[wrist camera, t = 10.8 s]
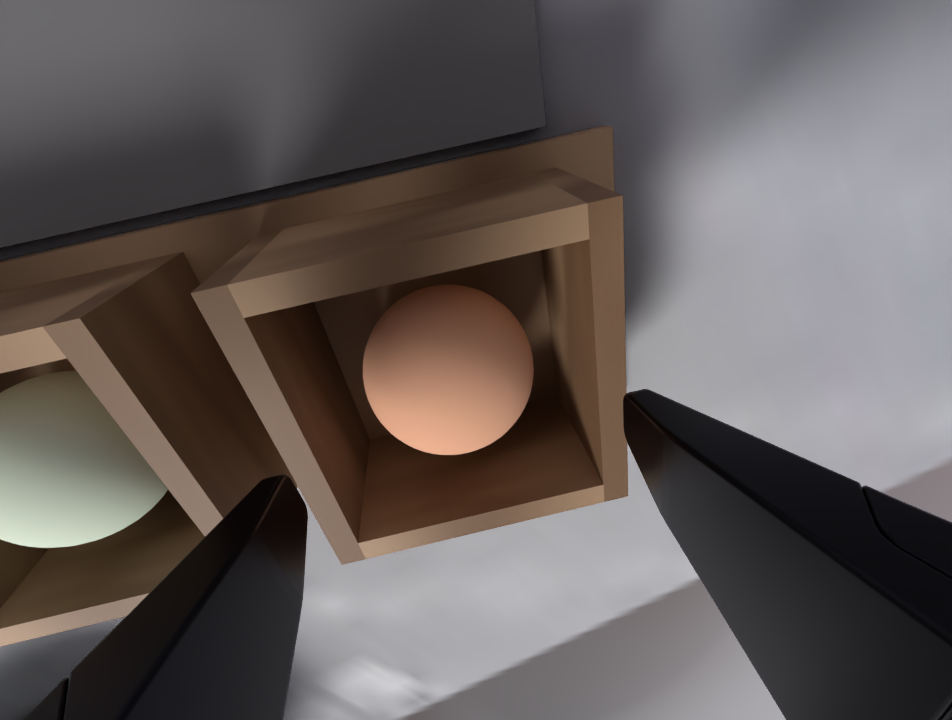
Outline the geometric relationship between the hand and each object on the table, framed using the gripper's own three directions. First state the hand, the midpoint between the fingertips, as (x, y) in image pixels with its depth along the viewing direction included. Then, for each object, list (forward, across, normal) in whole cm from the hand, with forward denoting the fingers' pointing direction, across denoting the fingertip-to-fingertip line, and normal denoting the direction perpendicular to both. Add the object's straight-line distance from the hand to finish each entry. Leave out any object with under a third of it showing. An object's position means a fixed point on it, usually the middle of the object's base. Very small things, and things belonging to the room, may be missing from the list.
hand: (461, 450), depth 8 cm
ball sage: (+5, +9, 0) cm, 10 cm away
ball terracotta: (+5, 0, 0) cm, 5 cm away
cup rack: (+6, +4, 0) cm, 7 cm away
